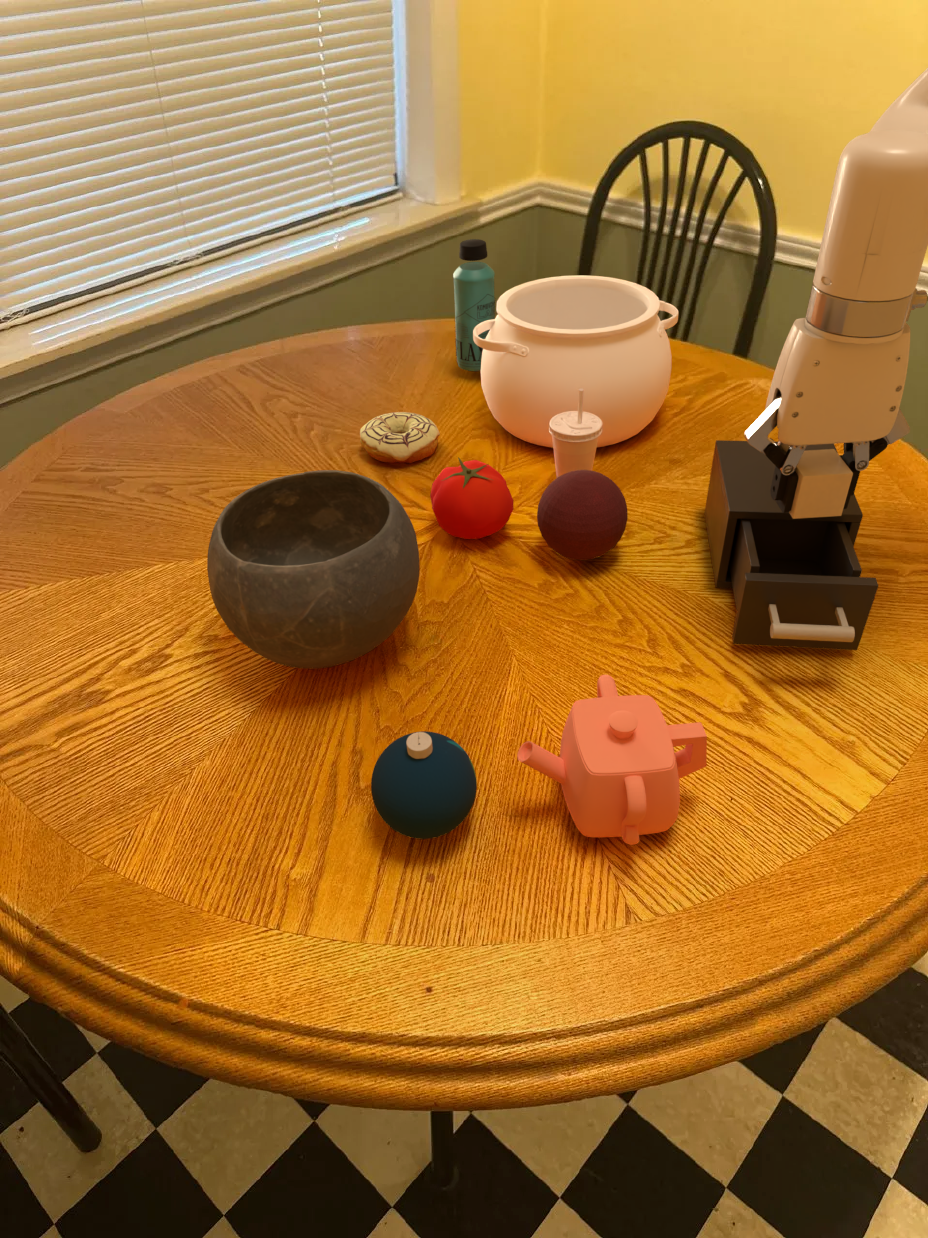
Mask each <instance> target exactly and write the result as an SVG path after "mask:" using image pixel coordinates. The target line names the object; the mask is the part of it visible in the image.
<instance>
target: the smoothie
mask: <svg viewBox="0 0 928 1238" xmlns="http://www.w3.org/2000/svg"><path fill="white" fill-rule="evenodd" d="M583 391H584V389H579V396H578V411H568V412H563V413H560V414H558V415H555V416H554V417H553V418H552V419H551V420H550V427H549V432H550V434H551V435H552V440H553V448H552V449H553V457H554V467H555V475H556V478H558V477H559V476H561V475H563V474H566V473H568V472H571V471H575V470H591V471H593V467H594V464H595V463H594V462H595V457H596V453H597V448H598V447H597V443H598V437H599V436H600V435H601V433H602V420H601V419H600V418H599V417H598V416H596V415H594V414H592V413H588V412H583Z"/></svg>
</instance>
